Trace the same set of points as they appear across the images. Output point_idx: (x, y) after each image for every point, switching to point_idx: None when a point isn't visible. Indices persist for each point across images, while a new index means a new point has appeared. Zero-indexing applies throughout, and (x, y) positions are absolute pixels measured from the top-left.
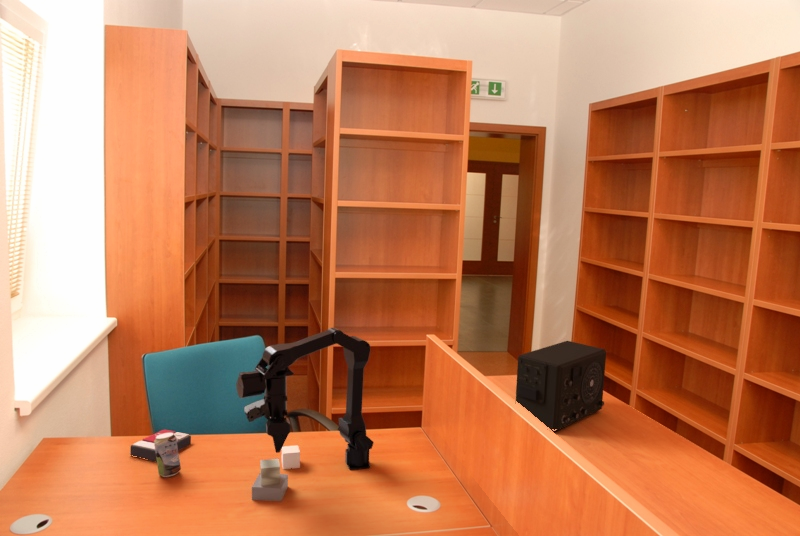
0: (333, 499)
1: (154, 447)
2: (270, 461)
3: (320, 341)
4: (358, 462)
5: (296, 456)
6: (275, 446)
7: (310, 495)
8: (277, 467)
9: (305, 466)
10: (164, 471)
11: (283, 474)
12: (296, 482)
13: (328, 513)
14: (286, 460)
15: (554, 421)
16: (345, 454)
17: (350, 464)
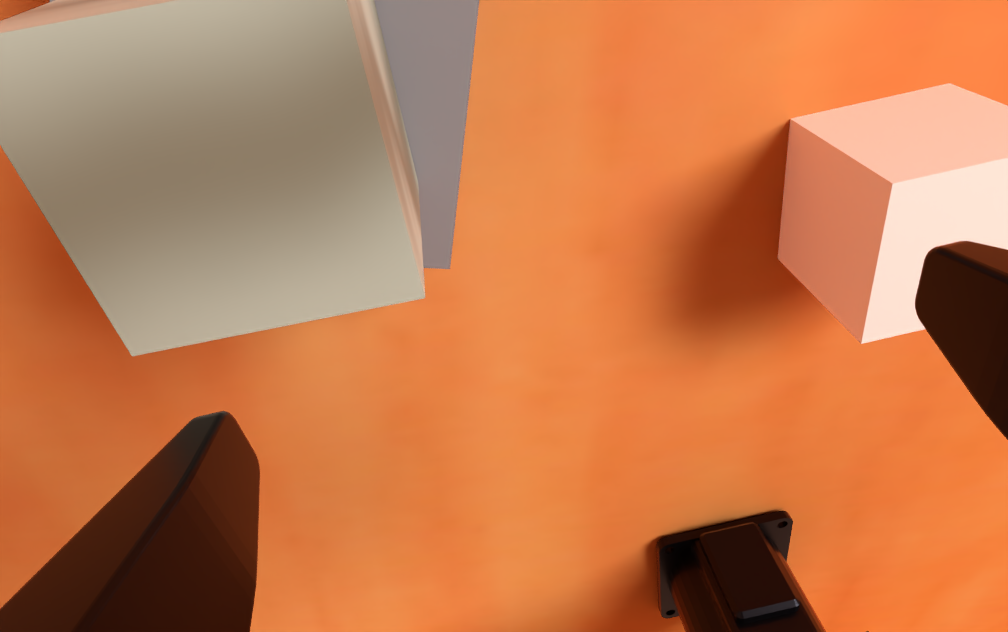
0: (267, 511)
1: None
2: (303, 184)
3: None
4: (679, 604)
5: (840, 291)
6: (63, 568)
7: (302, 386)
8: (113, 319)
9: (785, 296)
10: None
11: (445, 226)
12: (517, 266)
13: (66, 511)
14: (836, 184)
15: None
16: (775, 566)
17: (694, 554)
